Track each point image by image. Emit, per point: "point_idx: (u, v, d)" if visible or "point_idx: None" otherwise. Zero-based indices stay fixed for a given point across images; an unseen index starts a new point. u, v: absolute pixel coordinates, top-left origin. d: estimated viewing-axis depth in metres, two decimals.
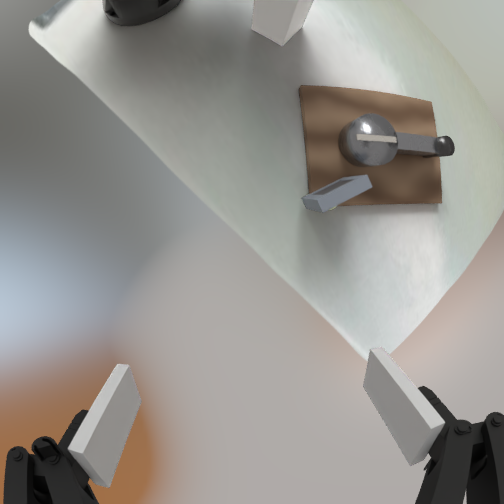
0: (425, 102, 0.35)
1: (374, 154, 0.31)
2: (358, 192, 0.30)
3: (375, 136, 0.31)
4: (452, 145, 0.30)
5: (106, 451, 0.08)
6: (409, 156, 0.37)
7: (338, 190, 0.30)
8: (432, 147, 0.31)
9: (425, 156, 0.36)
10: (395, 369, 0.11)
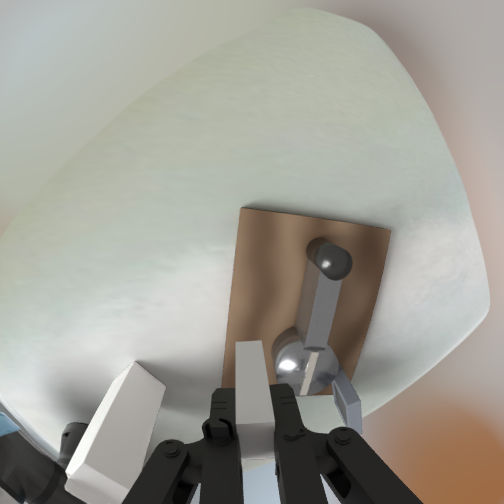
0: (242, 223, 0.29)
1: (325, 376, 0.28)
2: (359, 411, 0.27)
3: (306, 377, 0.27)
4: (338, 252, 0.24)
5: None
6: None
7: (350, 425, 0.27)
8: (333, 288, 0.26)
9: None
10: (259, 362, 0.13)
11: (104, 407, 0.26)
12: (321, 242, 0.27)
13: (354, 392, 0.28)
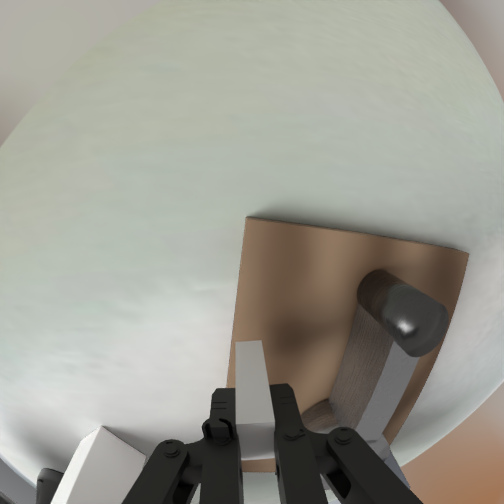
0: (250, 246, 0.16)
1: None
2: None
3: None
4: (431, 311, 0.11)
5: None
6: None
7: None
8: (407, 363, 0.13)
9: None
10: (258, 362, 0.13)
11: (64, 489, 0.13)
12: (390, 283, 0.14)
13: (402, 475, 0.15)
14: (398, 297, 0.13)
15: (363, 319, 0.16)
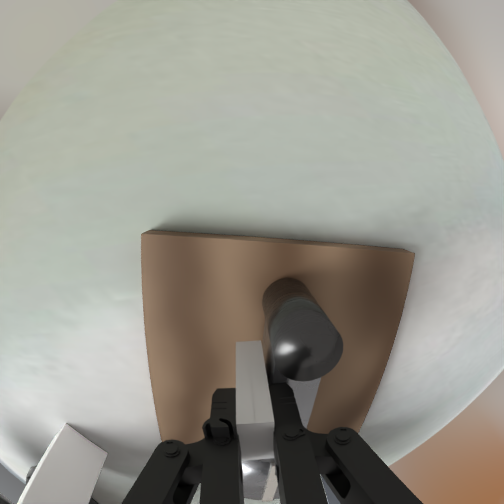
0: (147, 259, 0.16)
1: None
2: None
3: (268, 487, 0.14)
4: (310, 332, 0.11)
5: None
6: None
7: None
8: (304, 385, 0.12)
9: None
10: (258, 362, 0.13)
11: (32, 478, 0.13)
12: (284, 295, 0.14)
13: None
14: (281, 312, 0.13)
15: (266, 332, 0.16)
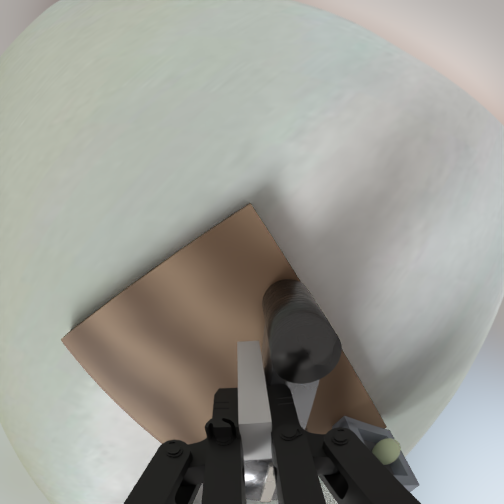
0: (74, 353, 0.18)
1: None
2: None
3: (266, 488, 0.14)
4: (308, 334, 0.11)
5: None
6: (212, 356, 0.18)
7: None
8: (303, 387, 0.12)
9: None
10: (256, 362, 0.13)
11: None
12: (283, 296, 0.14)
13: None
14: (279, 314, 0.12)
15: (266, 333, 0.16)
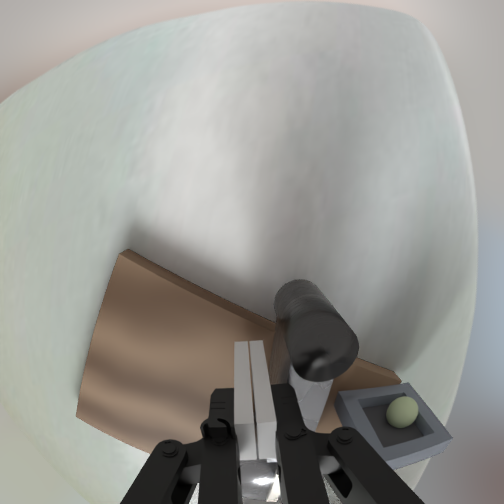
0: (89, 422, 0.19)
1: None
2: (399, 459, 0.12)
3: (274, 487, 0.14)
4: (328, 333, 0.11)
5: None
6: (173, 386, 0.18)
7: (416, 461, 0.12)
8: (317, 386, 0.12)
9: None
10: (260, 362, 0.13)
11: None
12: (298, 296, 0.14)
13: None
14: (297, 314, 0.13)
15: (278, 333, 0.16)
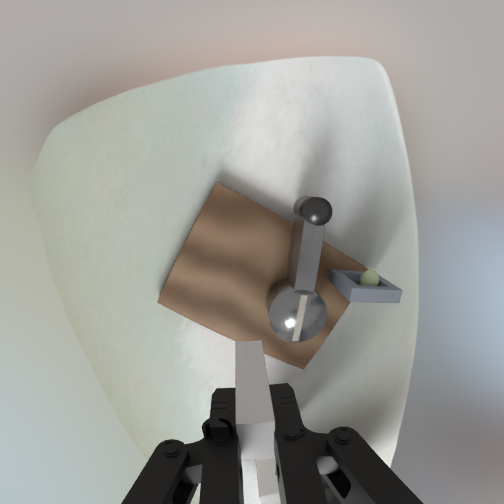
0: (167, 305, 0.37)
1: (315, 322, 0.32)
2: (367, 290, 0.29)
3: (297, 321, 0.32)
4: (318, 201, 0.28)
5: None
6: (237, 260, 0.36)
7: (381, 301, 0.30)
8: (317, 234, 0.30)
9: None
10: (259, 362, 0.13)
11: None
12: (306, 197, 0.32)
13: (346, 284, 0.31)
14: (306, 200, 0.30)
15: (296, 219, 0.33)
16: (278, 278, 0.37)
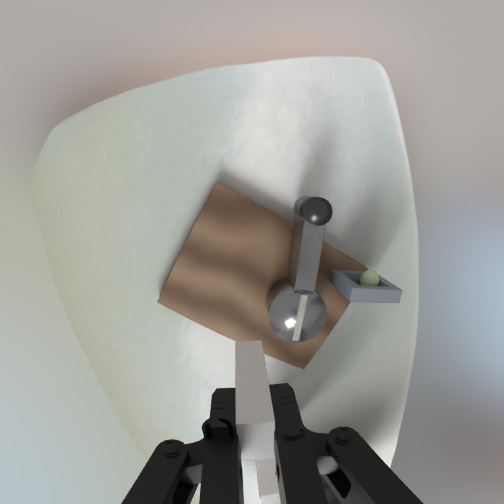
0: (168, 305, 0.37)
1: (315, 322, 0.32)
2: (367, 290, 0.29)
3: (297, 320, 0.32)
4: (319, 201, 0.28)
5: None
6: (237, 260, 0.36)
7: (381, 301, 0.30)
8: (317, 234, 0.30)
9: None
10: (259, 362, 0.13)
11: None
12: (306, 197, 0.32)
13: (346, 284, 0.31)
14: (306, 200, 0.30)
15: (297, 219, 0.33)
16: (278, 278, 0.37)
